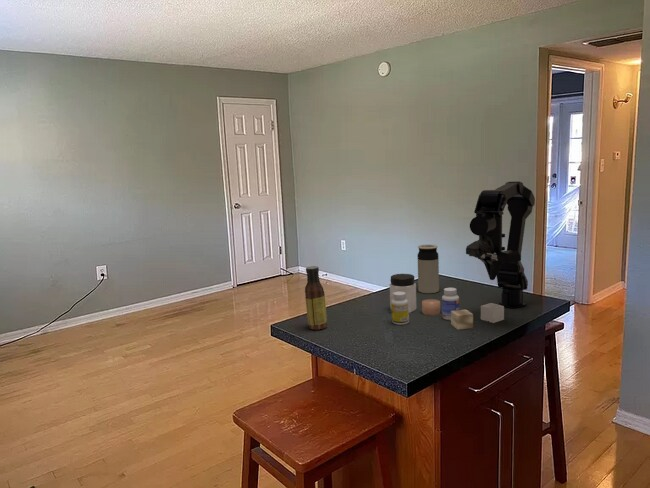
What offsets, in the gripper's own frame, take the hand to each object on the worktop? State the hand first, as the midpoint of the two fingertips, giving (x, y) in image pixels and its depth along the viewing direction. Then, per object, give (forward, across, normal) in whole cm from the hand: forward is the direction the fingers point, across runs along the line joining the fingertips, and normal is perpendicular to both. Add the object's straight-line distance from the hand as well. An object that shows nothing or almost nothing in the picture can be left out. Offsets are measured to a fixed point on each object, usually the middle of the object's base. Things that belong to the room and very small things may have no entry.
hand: (492, 279), depth 156 cm
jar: (+13, -24, -18) cm, 33 cm away
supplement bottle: (+13, -13, -26) cm, 32 cm away
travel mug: (+13, -39, +3) cm, 41 cm away
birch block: (+13, 0, -12) cm, 18 cm away
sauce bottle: (+13, -23, -51) cm, 57 cm away
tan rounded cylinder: (+13, -16, -12) cm, 24 cm away
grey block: (+13, 0, 0) cm, 13 cm away
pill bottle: (+13, -8, -10) cm, 18 cm away
